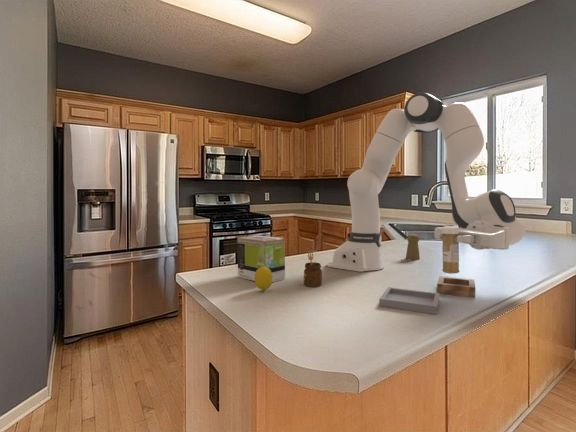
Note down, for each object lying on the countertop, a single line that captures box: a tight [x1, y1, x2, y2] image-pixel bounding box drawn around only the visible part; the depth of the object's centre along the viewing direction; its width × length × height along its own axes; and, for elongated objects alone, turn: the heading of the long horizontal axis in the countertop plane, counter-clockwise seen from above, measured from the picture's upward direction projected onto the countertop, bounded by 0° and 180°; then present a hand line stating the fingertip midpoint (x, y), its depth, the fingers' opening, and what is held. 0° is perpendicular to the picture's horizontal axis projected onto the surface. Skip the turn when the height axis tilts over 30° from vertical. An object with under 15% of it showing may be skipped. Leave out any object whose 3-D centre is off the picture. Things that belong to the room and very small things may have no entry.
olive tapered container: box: [405, 233, 421, 261], centre depth 150 cm, size 6×6×11 cm
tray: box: [378, 286, 440, 315], centre depth 91 cm, size 14×12×2 cm
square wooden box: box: [436, 275, 476, 298], centre depth 102 cm, size 10×10×3 cm
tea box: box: [236, 235, 286, 283], centre depth 119 cm, size 15×10×15 cm
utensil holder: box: [303, 250, 323, 288], centre depth 110 cm, size 6×6×12 cm
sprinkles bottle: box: [441, 225, 460, 274], centre depth 97 cm, size 5×5×14 cm
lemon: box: [254, 266, 273, 292], centre depth 103 cm, size 6×6×8 cm
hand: (448, 238), depth 97 cm, fingers closed on sprinkles bottle, 4 cm apart
